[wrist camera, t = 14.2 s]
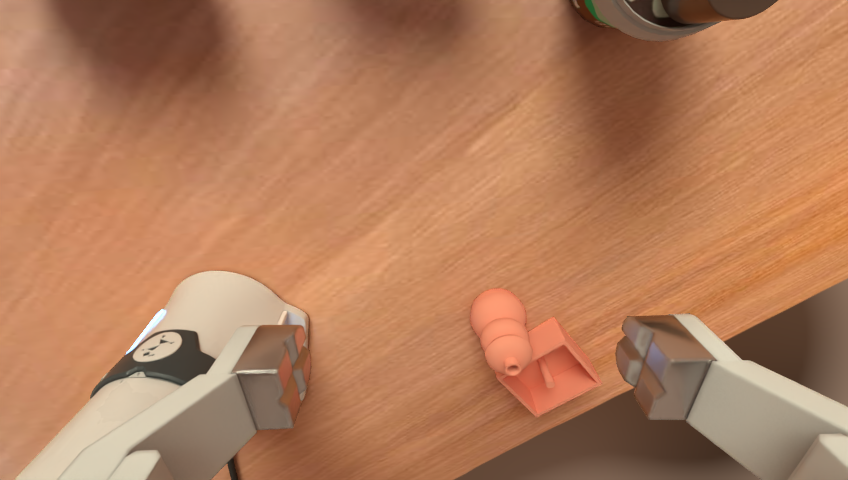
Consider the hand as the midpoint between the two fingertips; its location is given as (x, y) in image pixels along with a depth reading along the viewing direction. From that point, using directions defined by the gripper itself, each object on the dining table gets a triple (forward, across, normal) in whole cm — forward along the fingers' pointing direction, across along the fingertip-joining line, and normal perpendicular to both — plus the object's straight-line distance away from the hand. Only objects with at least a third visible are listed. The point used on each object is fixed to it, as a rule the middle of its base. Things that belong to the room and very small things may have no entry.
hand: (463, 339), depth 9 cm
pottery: (+29, -11, +26) cm, 41 cm away
